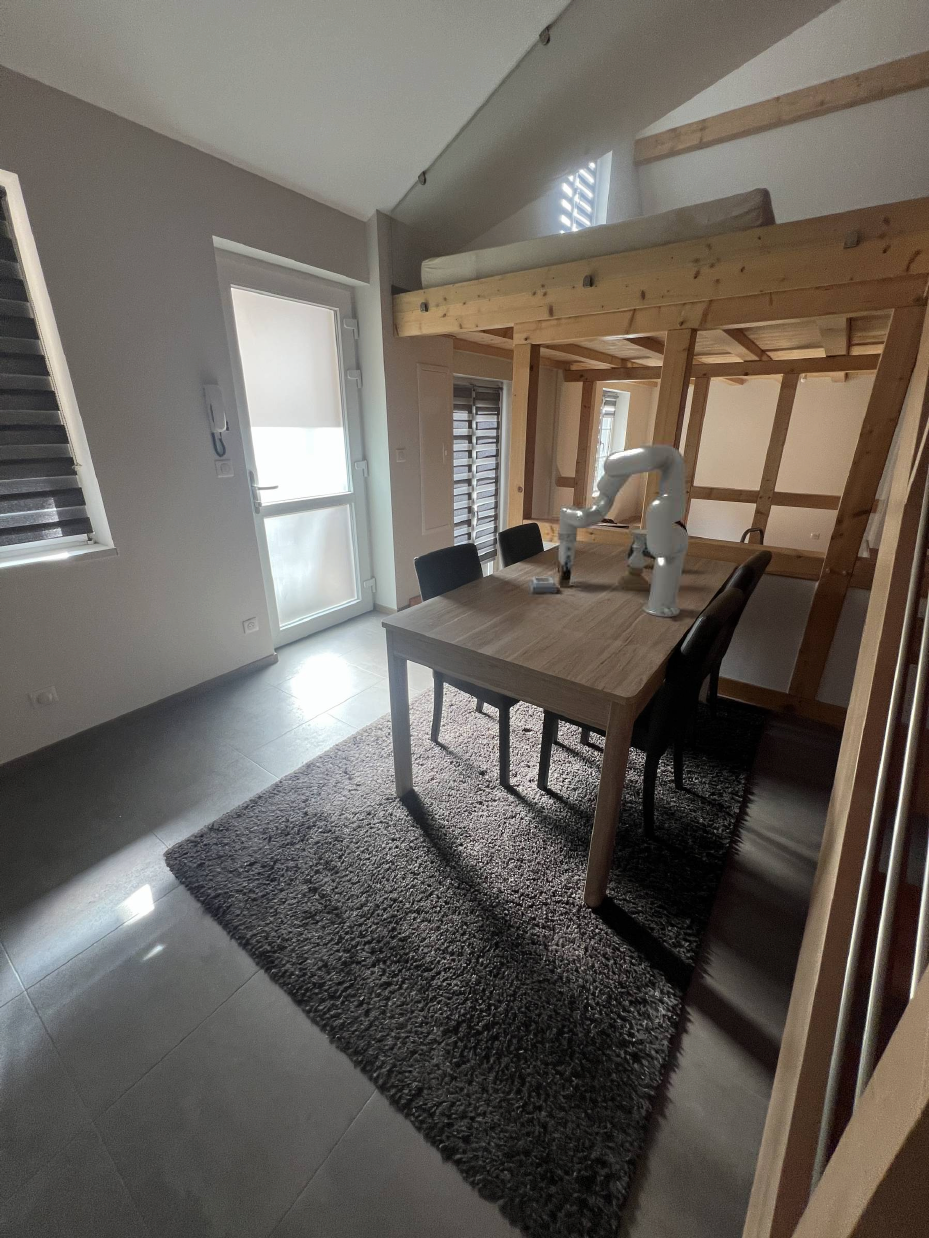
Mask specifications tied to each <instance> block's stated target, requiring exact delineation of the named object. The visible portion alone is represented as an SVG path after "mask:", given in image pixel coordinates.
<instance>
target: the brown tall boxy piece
mask: <svg viewBox="0 0 929 1238" xmlns="http://www.w3.org/2000/svg"><path fill="white" fill-rule="evenodd" d="M566 559H567V558H566ZM563 571H564V565H562V564H561V562H560V565H559V573H558V580H557V586H558V585H559V586H560V587H559V586H558V587H559V588H560V589H561V588H564V589H565V588H567V589H569V588H570V581H571V579H570V580H563Z"/></svg>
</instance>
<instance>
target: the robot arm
mask: <svg viewBox="0 0 929 1238" xmlns="http://www.w3.org/2000/svg"><path fill="white" fill-rule="evenodd" d="M602 467H603V472H604V474H603V475H602V476H601V477H600V479H599V480H598V481H597V484H596V488H597V490H598V491H599V494H598V495H597V498H596V499H595V500H594V501H593V503H592V504H591V506H589V507H584V508H580V509H579V508H578V506H575V505H574V506H573V505H564V506H561V508H560V510H559V522H558V535H557V541H559V546H558V557H557V559H558V564H557V565H558V566H557V574H559V565H560V562H561V564H562V565H564V571H563V580H570V581H571V575H572V566H574V565H575V551H576V549H575V548H576V545H575V543H576V542H577V534H578V529H586V528H589V527H594V526H597V525H599V524H600V523H601V522H603V520H604V518H606V516H607V515H608V514H609V512H610V511H611V510H612V508H613V506H614V503H615V500H616V496H617V495H618V494H619V492H620V491H621V490H622V489H623V487H624V486H625V485H626V483H627V482H628V481H629V479H630V478H631V477H632V475H636V474H642V473H649V472H655V471H659V473H660V475H659V479H658V497H657V498H655V499H653V500H652V501H651V502H650V503H649V504H648V506H647V509H646V512H645V513H646V515H645V530H646V542H647V548H648V550H649V552H650V554H651V555H653V556H654V557H656V559H655V560H654V564H653V571H652V575H651V576H652V577H651V583H650V584H651V585H650V590H649V597H648V603H645V604H644V605H643V607H642V608H643V609H642V610H643V611H644V612H645V613H647V614H650V615H653V616H655V617H661V618H662V617H665V618H671V617H676V616H678V615H679V614H680V609H679V607H677V600H678V596H679V591H680V590H679V589H680V583H681V579H682V577H681V576H682V572H683V566H684V561H685V558H686V554H687V551H688V548H689V542H690V537H689V534H688V532H687V530H685V529H684V527H682V526H678V525H675V523H676V522H679V521H680V520H682V519H683V517H684V516H685V514H686V508H687V507H686V506H687V505H686V504H687V503H686V462H685V459H684V456H683V455H682V453H681V451H679V450H678V449H677V448H675V447H673V446H670V445H668V444H651V445H649V444H648V445H643V446H638V447H635V448H634V447H633V448H630V449H626V450H621V451H616V452H612V453H610V454H608V456H607V457H606V458H605V460H604V462H603V466H602ZM566 558H567V559H566Z"/></svg>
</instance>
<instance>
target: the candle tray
mask: <svg viewBox="0 0 929 1238" xmlns="http://www.w3.org/2000/svg"><path fill="white" fill-rule="evenodd" d="M528 587H529V590H530V592H531V594H532V595H547V594H546V593H558V585H556V583H555V581H554V580H553V578H552V577H551V576H532V579H529V580H528Z"/></svg>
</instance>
